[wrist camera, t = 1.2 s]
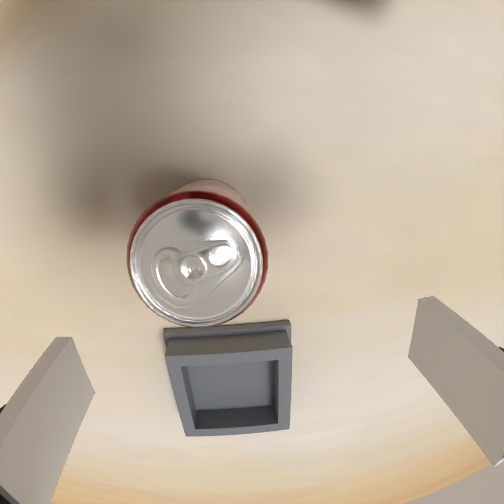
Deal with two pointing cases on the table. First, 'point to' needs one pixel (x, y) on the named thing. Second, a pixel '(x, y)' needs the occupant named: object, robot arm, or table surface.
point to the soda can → (198, 255)
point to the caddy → (231, 377)
